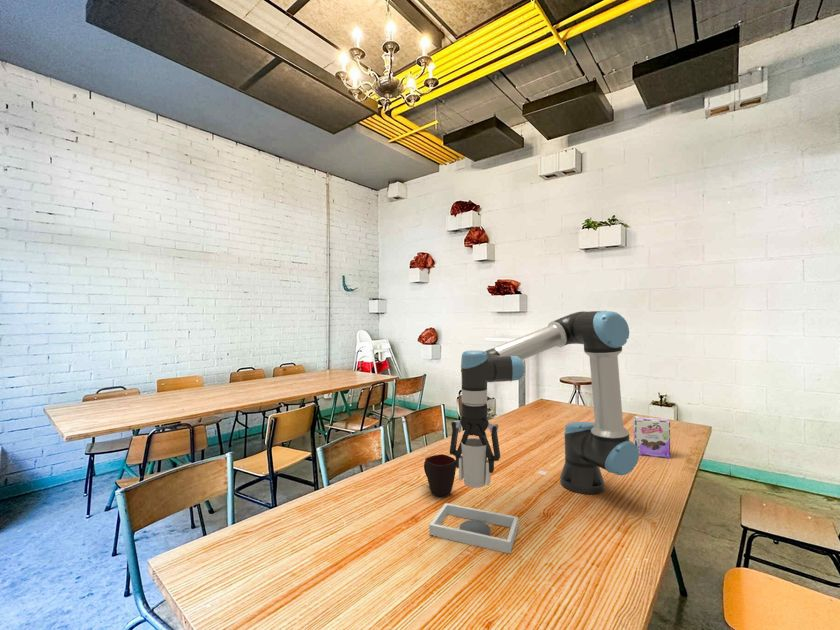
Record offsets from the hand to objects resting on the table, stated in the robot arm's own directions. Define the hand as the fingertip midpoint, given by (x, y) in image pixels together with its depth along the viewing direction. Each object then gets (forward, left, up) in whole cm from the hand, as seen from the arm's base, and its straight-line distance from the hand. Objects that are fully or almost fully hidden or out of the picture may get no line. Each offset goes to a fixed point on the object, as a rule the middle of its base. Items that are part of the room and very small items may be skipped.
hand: (474, 480), depth 114 cm
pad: (0, 0, -15) cm, 15 cm away
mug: (+19, -20, -15) cm, 31 cm away
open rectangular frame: (0, 0, -15) cm, 15 cm away
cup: (0, 0, -1) cm, 1 cm away
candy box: (-58, -91, -15) cm, 108 cm away
